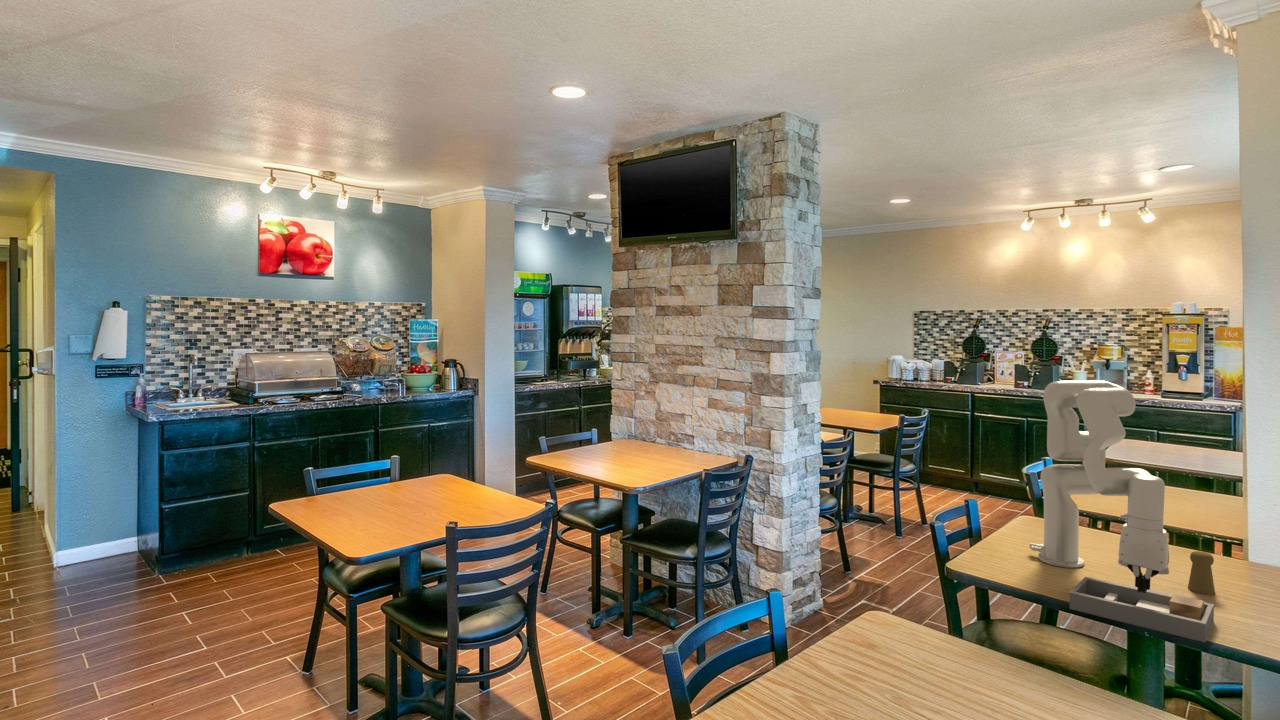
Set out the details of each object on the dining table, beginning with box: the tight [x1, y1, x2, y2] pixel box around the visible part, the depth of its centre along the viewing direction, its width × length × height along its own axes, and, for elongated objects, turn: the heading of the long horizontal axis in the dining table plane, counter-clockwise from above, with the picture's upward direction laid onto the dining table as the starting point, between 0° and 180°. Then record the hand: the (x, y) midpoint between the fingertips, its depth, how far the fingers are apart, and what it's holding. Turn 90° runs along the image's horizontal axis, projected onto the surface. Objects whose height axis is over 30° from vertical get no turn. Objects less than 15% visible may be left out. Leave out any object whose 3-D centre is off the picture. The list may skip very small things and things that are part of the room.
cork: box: [1187, 550, 1216, 596], centre depth 189 cm, size 6×6×11 cm
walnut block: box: [1169, 594, 1205, 621], centre depth 167 cm, size 6×6×4 cm
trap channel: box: [1069, 576, 1215, 643], centre depth 174 cm, size 28×16×4 cm, turn 44°
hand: (1142, 590), depth 174 cm, fingers closed
